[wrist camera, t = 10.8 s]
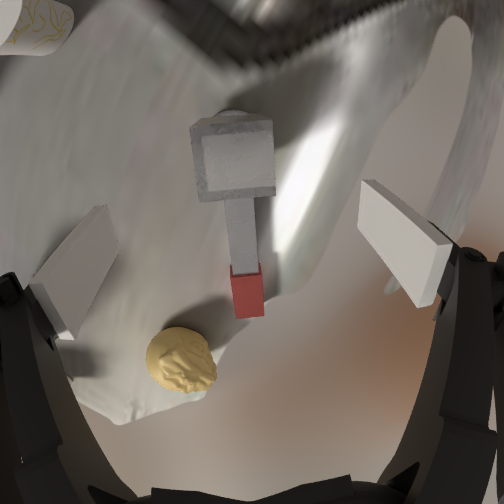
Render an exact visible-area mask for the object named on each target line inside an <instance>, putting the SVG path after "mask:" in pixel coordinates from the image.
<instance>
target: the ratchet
mask: <svg viewBox="0 0 504 504" xmlns="http://www.w3.org/2000/svg"><path fill="white" fill-rule="evenodd" d="M241 114H250V113H248V112H246V111H242V110H236V109H233V110H226V111H222V112H220V113H218V114H216V115H214V116H213V117H219V116H229V115H241ZM224 207H225V215H226V223H227V232H228V240H229V248H230V256H231V263H232V266H230V279H231V286H232V293H233V300H234V307H235V314H236V319H238V318H249V317H258V316H264V302H263V285H262V272H261V266H260V263H258V255H257V240H256V226H255V211H254V197H253V198H241V199H230V200H224Z"/></svg>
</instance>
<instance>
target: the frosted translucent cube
mask: <svg viewBox="0 0 504 504" xmlns="http://www.w3.org/2000/svg"><path fill="white" fill-rule="evenodd" d="M190 136H191V144H192V152H193V160H194V168H195V175H196V182H197V189H198V196H199V203H201V202H210V201H220V200H230V199H241V198H253V197H266V196H276V188H275V162H274V139H273V120H272V119H270V118H269V117H267V116H265V115H264V114H262V113H256V114H241V115H229V116H219V117H210V118H202V119H200V120H199V121H197V122H196V123H195V124H193V125H192V126H191V127H190Z"/></svg>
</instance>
